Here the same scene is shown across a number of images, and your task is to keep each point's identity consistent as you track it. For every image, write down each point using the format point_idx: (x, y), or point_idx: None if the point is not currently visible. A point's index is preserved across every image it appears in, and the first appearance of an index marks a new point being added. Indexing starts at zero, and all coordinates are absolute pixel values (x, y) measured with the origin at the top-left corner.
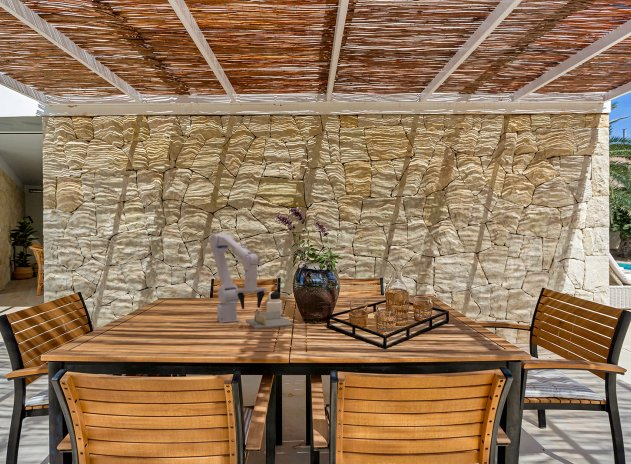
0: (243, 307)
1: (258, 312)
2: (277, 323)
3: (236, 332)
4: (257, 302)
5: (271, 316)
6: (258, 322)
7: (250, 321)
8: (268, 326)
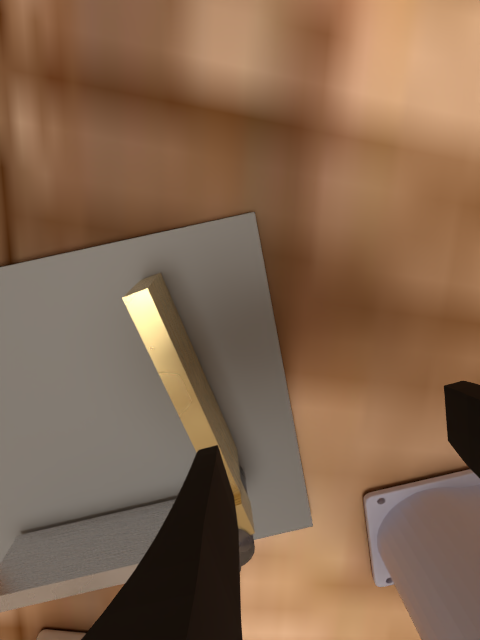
0: (475, 387)
1: None
2: (30, 349)
3: (437, 99)
4: (237, 571)
5: (91, 533)
6: None
7: (281, 448)
8: (117, 241)
